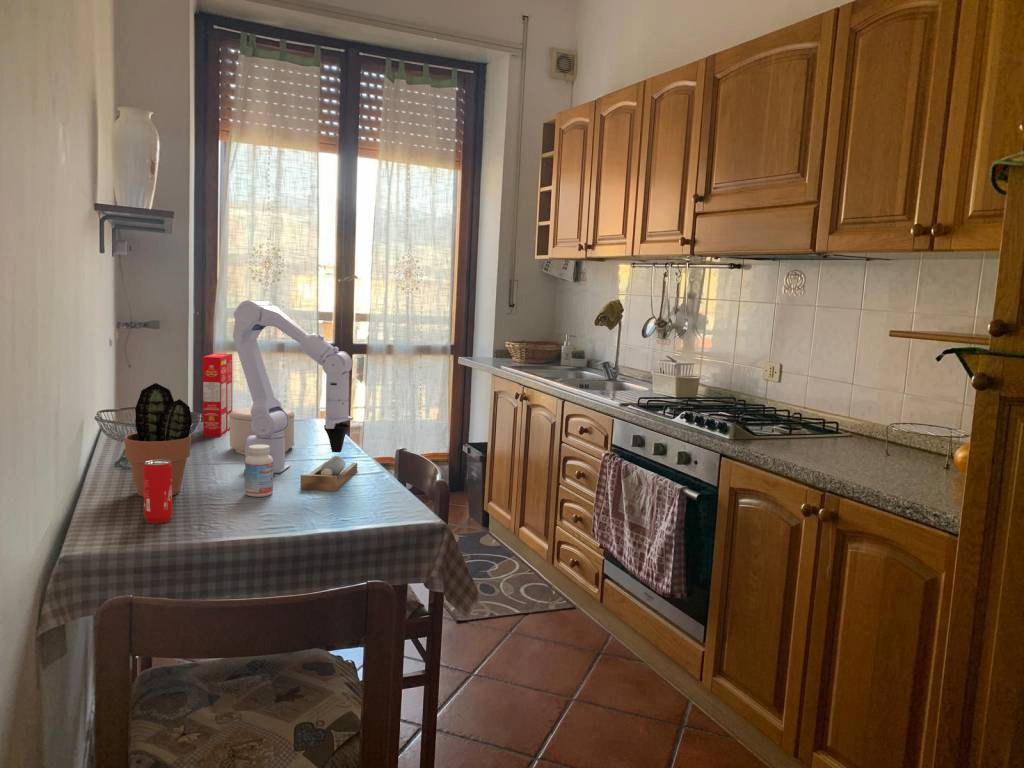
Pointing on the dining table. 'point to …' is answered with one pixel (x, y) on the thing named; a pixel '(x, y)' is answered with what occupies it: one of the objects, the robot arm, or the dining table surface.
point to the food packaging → (217, 393)
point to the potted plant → (159, 434)
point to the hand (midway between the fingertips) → (336, 451)
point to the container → (243, 430)
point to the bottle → (333, 466)
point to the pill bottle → (259, 471)
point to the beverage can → (157, 490)
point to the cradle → (326, 479)
